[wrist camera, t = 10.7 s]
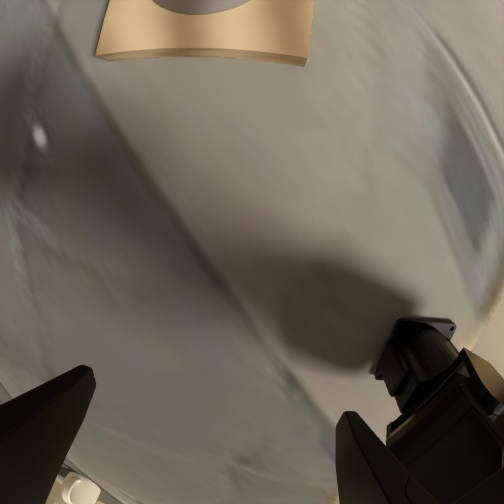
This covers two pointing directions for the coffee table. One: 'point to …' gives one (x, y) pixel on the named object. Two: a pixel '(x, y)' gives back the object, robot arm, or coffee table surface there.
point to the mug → (77, 490)
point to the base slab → (208, 29)
